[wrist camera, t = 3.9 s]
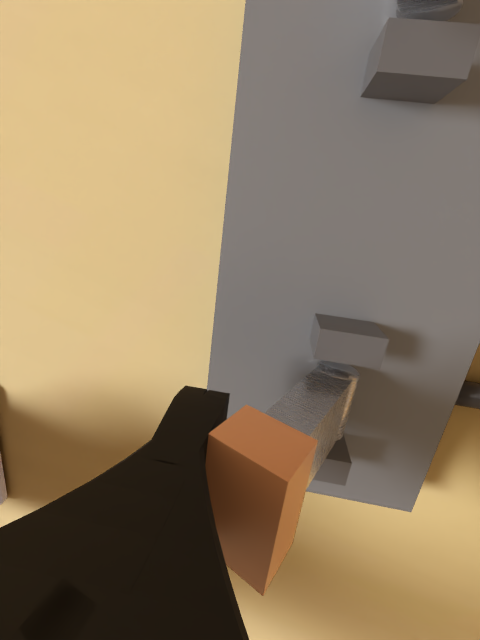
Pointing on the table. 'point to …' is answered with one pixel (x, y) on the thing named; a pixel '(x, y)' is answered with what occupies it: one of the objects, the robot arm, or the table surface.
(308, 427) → the lever
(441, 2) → the lever
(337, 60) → the breaker block
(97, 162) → the table surface
